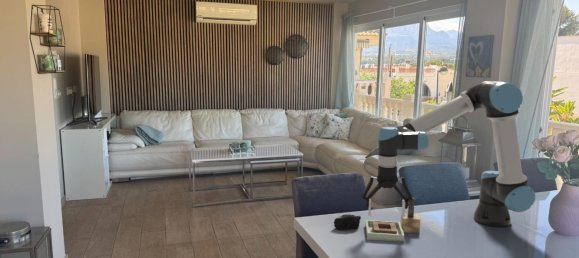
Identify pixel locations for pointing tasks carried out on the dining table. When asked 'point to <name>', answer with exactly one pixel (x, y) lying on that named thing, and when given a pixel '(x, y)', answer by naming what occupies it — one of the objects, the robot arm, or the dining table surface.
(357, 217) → the mineral
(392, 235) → the tray
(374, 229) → the ring
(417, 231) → the block with upright handle
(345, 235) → the dining table surface
